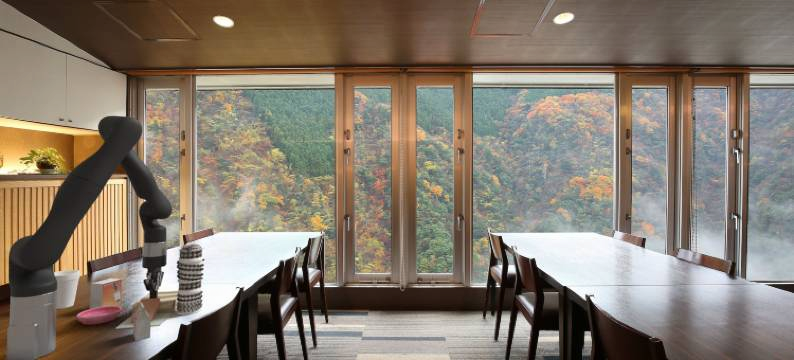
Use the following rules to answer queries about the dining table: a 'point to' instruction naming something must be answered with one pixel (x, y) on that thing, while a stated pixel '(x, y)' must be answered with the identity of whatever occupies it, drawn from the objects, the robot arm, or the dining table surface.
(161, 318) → the mat
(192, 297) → the decorative candle
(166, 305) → the panel
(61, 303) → the foam cup
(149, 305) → the salmon pink brick
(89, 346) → the dining table surface
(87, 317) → the saucer
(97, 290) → the small box
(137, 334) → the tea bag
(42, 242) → the robot arm
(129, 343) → the dining table surface
